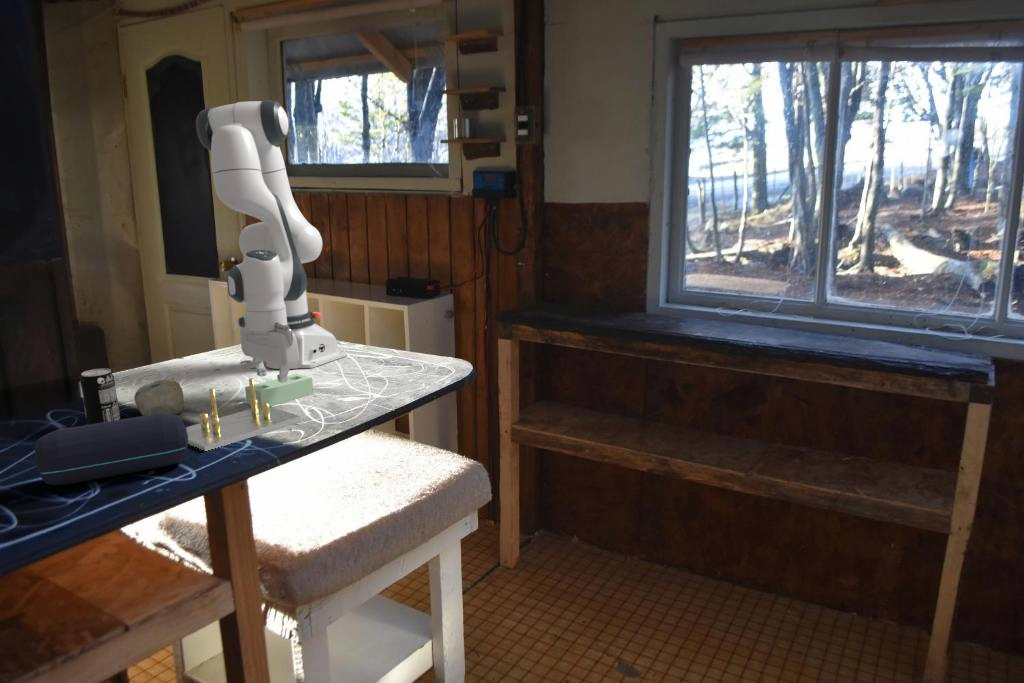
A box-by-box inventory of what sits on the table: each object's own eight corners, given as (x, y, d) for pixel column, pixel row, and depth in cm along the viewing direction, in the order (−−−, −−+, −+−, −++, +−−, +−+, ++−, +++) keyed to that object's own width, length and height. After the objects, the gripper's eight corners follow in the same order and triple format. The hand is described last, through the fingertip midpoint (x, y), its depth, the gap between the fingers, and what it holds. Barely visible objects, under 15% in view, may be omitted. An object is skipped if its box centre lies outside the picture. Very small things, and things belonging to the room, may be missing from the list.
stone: (183, 386, 188) (178, 365, 180) (187, 425, 183) (182, 405, 175) (137, 393, 185) (130, 371, 177) (140, 432, 180) (132, 412, 172)
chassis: (265, 409, 181) (260, 367, 179) (300, 421, 172) (296, 377, 170) (171, 437, 165) (165, 391, 163) (205, 451, 156) (198, 403, 154)
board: (298, 389, 196) (296, 373, 195) (313, 393, 192) (311, 377, 191) (246, 403, 186) (245, 387, 185) (262, 408, 182) (260, 391, 181)
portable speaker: (188, 452, 157) (182, 403, 154) (193, 468, 148) (186, 417, 146) (43, 478, 146) (33, 426, 144) (38, 498, 137) (28, 443, 135)
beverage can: (89, 422, 177) (81, 370, 174) (122, 417, 179) (114, 366, 177) (85, 431, 171) (76, 377, 168) (119, 426, 173) (111, 373, 171)
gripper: (303, 324, 179) (308, 383, 182) (257, 314, 193) (262, 370, 196) (278, 328, 175) (283, 389, 178) (233, 318, 189) (238, 375, 192)
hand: (272, 379), depth 187 cm, fingers open, 8 cm apart
